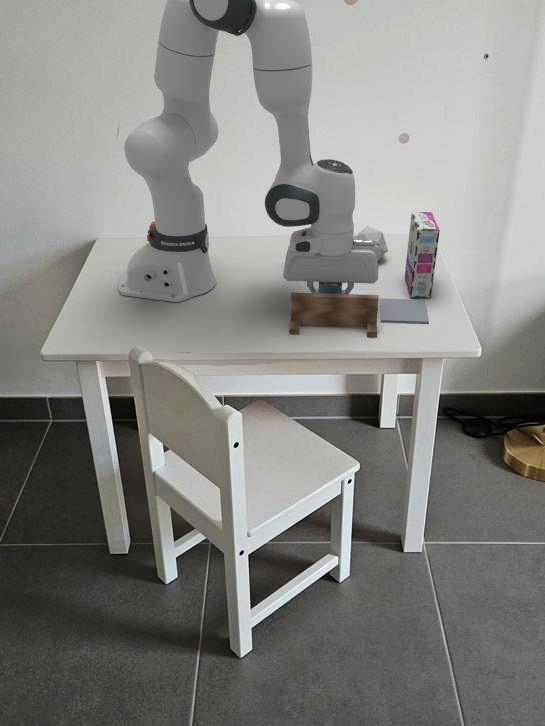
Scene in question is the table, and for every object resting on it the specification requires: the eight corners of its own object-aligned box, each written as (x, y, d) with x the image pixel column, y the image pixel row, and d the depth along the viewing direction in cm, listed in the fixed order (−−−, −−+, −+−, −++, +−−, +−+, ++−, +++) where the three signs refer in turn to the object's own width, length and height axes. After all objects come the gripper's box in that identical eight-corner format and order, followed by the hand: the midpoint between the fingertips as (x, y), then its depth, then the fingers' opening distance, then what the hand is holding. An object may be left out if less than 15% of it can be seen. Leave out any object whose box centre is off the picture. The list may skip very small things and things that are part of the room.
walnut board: (289, 334, 151) (289, 304, 148) (291, 321, 156) (291, 292, 152) (376, 337, 150) (379, 307, 146) (376, 324, 154) (378, 295, 151)
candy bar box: (432, 298, 164) (440, 229, 155) (410, 298, 164) (417, 229, 155) (425, 277, 173) (432, 210, 165) (404, 277, 174) (410, 210, 165)
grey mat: (380, 322, 155) (381, 320, 155) (379, 300, 164) (379, 298, 163) (428, 323, 154) (428, 321, 154) (424, 301, 163) (425, 299, 163)
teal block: (317, 312, 159) (318, 286, 156) (318, 301, 164) (319, 276, 160) (340, 312, 159) (342, 287, 156) (341, 302, 163) (342, 277, 160)
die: (393, 263, 182) (388, 225, 183) (381, 258, 174) (376, 218, 175) (362, 269, 186) (358, 232, 186) (350, 265, 178) (345, 226, 179)
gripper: (381, 234, 154) (377, 293, 162) (285, 232, 156) (285, 290, 164) (382, 246, 149) (378, 306, 157) (282, 244, 151) (282, 303, 158)
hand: (329, 298), depth 160 cm, fingers closed on teal block, 5 cm apart
